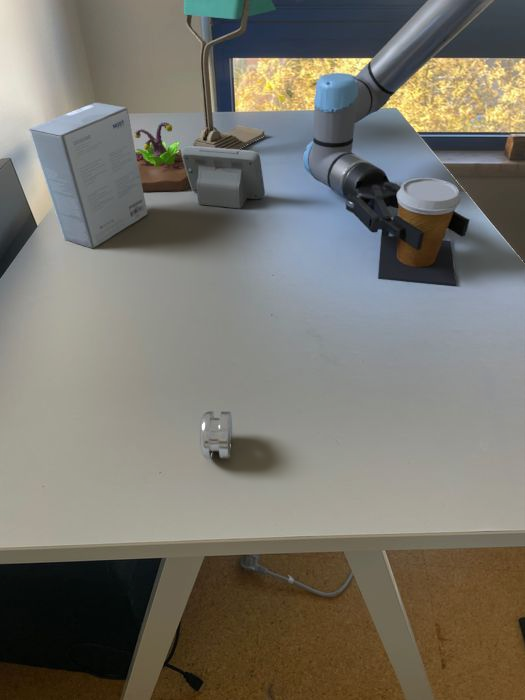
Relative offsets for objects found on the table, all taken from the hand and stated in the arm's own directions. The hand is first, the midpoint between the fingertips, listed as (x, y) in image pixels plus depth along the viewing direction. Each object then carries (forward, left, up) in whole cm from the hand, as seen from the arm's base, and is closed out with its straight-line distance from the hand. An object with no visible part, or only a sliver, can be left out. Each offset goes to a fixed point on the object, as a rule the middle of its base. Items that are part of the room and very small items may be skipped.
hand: (443, 234), depth 79 cm
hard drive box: (+60, -6, -7) cm, 60 cm away
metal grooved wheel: (+25, +41, -7) cm, 49 cm away
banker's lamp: (+48, -53, -7) cm, 72 cm away
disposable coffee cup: (+3, -4, -7) cm, 8 cm away
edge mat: (+3, -4, -7) cm, 8 cm away
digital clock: (+41, -22, -7) cm, 47 cm away
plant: (+58, -32, -7) cm, 66 cm away
